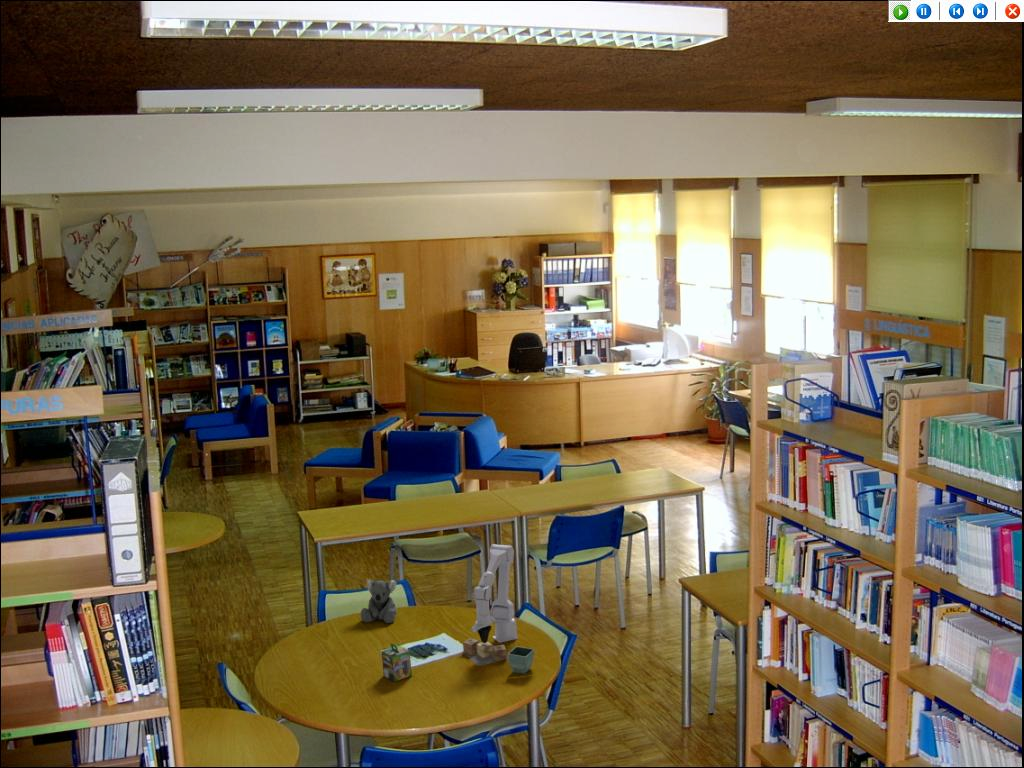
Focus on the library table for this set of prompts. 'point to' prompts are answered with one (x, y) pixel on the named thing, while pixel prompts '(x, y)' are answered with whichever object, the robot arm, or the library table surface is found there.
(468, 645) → the pip block two
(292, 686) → the library table surface
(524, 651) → the flower pot
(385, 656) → the green printed carry box
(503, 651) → the pip block one
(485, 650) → the plain block
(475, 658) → the felt mat
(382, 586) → the koala plush
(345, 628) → the library table surface
